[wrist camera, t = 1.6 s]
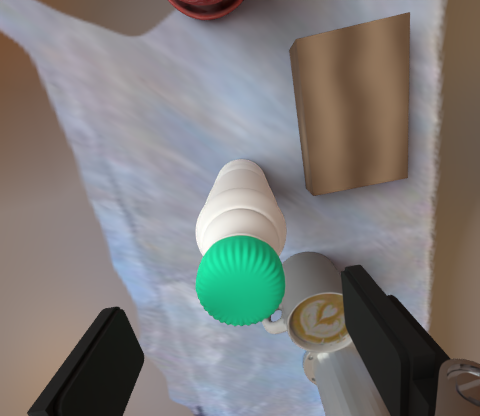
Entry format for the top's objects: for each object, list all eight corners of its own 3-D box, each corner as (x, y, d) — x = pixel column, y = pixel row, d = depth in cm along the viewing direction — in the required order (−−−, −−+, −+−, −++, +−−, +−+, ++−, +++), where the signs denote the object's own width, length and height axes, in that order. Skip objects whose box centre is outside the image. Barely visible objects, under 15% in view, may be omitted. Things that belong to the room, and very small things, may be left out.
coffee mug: (331, 245, 39) (360, 284, 29) (339, 295, 42) (368, 345, 32) (249, 264, 40) (252, 307, 31) (263, 311, 43) (270, 364, 34)
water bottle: (265, 205, 37) (308, 349, 13) (218, 206, 37) (177, 351, 13) (265, 157, 34) (317, 228, 11) (215, 159, 35) (159, 232, 11)
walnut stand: (388, 26, 29) (409, 12, 26) (389, 172, 35) (407, 177, 31) (289, 50, 30) (296, 39, 26) (306, 188, 36) (313, 195, 32)
